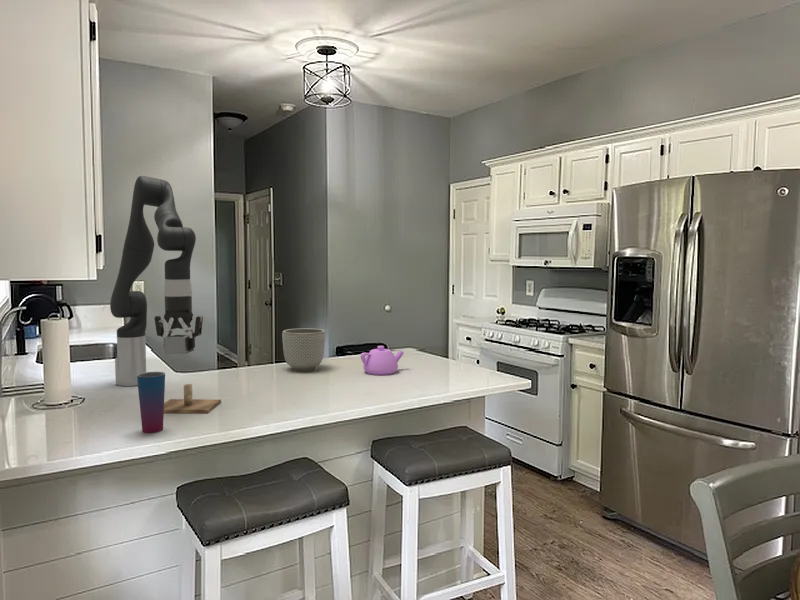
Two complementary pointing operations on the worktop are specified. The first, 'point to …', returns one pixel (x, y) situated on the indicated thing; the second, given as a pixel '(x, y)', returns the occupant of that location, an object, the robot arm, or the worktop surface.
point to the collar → (176, 344)
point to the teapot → (381, 361)
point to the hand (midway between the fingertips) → (179, 350)
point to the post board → (190, 408)
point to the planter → (303, 348)
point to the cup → (151, 400)
